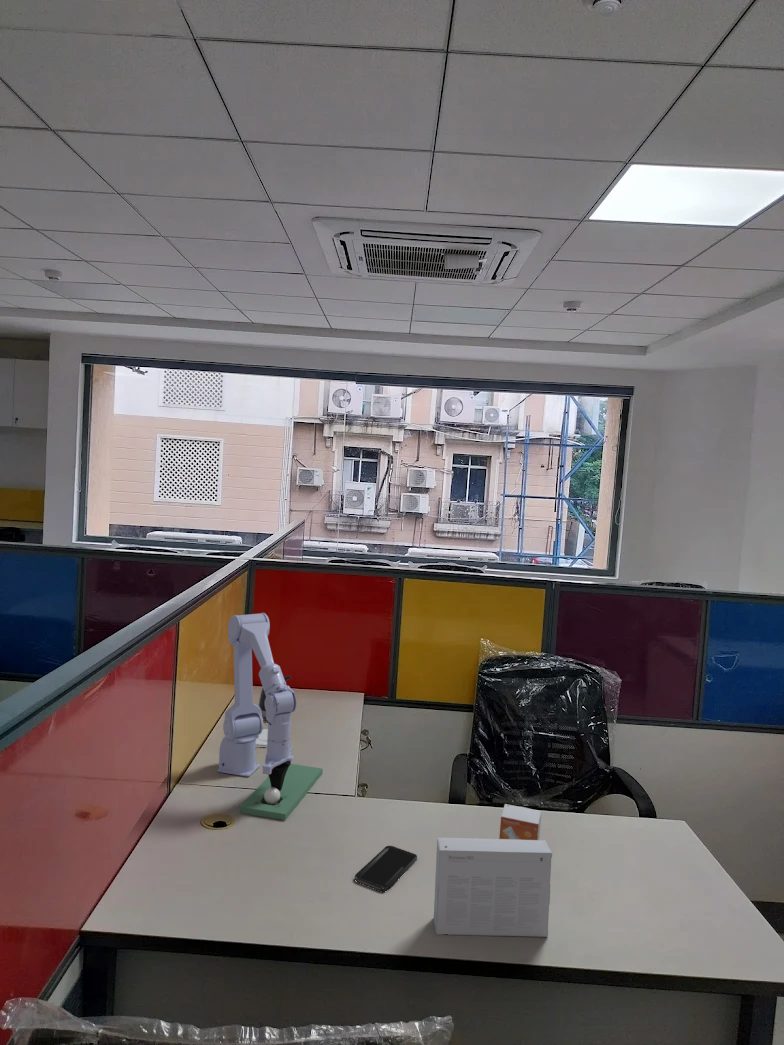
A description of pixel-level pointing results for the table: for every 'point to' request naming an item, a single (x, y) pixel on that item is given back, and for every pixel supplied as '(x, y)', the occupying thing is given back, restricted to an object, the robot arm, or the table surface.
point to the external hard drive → (262, 738)
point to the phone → (386, 868)
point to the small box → (520, 823)
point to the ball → (272, 795)
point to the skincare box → (492, 887)
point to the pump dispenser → (263, 697)
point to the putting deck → (282, 793)
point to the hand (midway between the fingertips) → (276, 790)
